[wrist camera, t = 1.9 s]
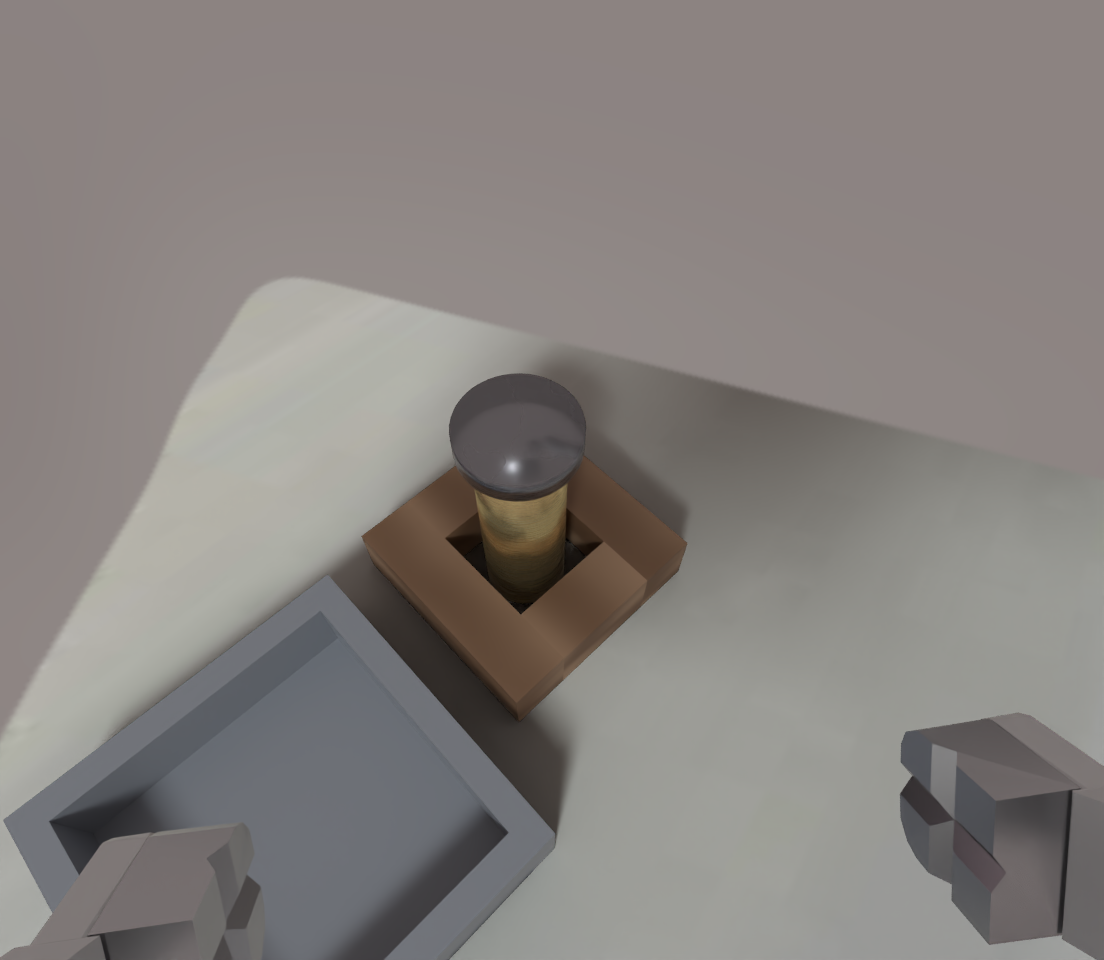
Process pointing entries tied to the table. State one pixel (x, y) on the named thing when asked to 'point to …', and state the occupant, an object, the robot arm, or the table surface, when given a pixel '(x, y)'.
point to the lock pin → (520, 476)
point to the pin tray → (309, 792)
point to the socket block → (556, 617)
